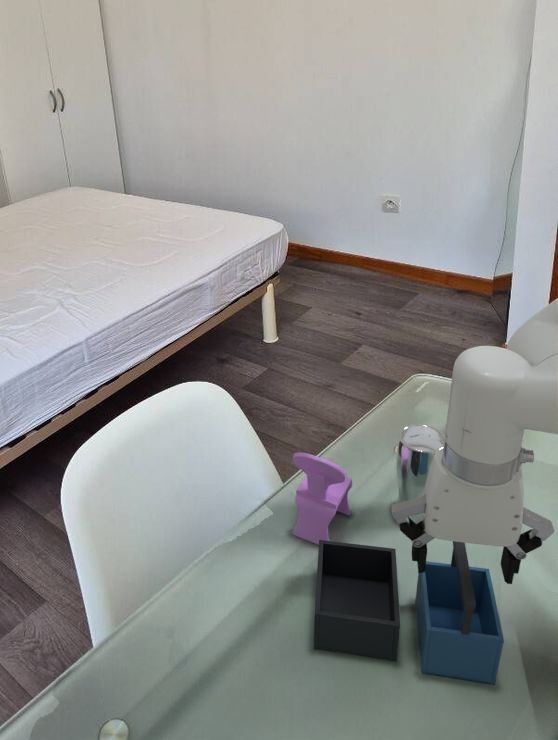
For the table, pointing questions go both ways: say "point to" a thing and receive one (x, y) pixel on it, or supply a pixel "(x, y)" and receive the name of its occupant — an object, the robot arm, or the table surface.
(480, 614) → the blue bin
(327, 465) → the toy chair
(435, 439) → the beer glass
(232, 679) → the table surface
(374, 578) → the charcoal bin
